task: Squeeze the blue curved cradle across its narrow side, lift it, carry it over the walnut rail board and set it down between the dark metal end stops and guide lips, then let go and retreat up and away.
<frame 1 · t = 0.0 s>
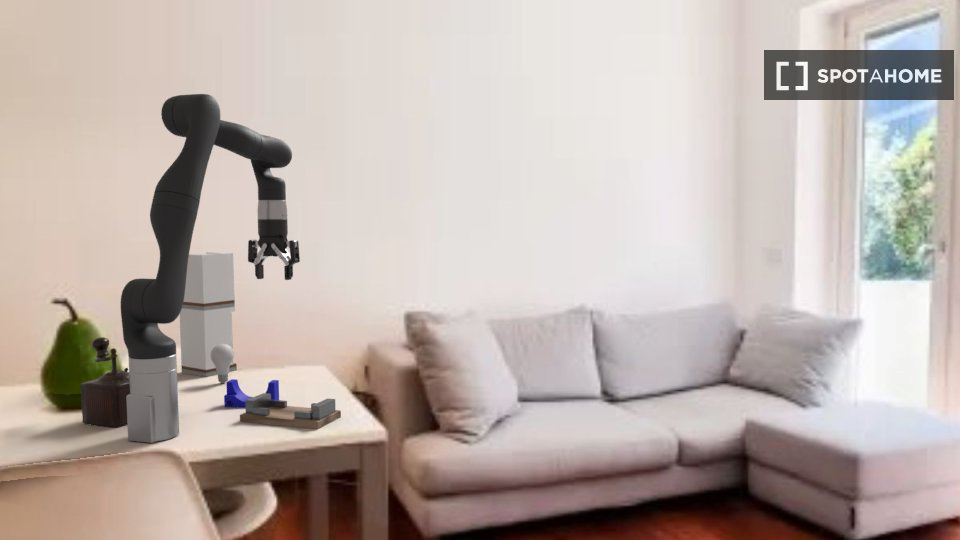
hand: (274, 279, 200), 29 cm above the table, fingers open, 8 cm apart
lightbulb: (223, 384, 209), on the table
clip rail: (290, 419, 172), on the table
manual coffee grinder: (110, 419, 173), on the table
blue curved cradle: (252, 406, 185), on the table
white square pillar: (209, 372, 224), on the table
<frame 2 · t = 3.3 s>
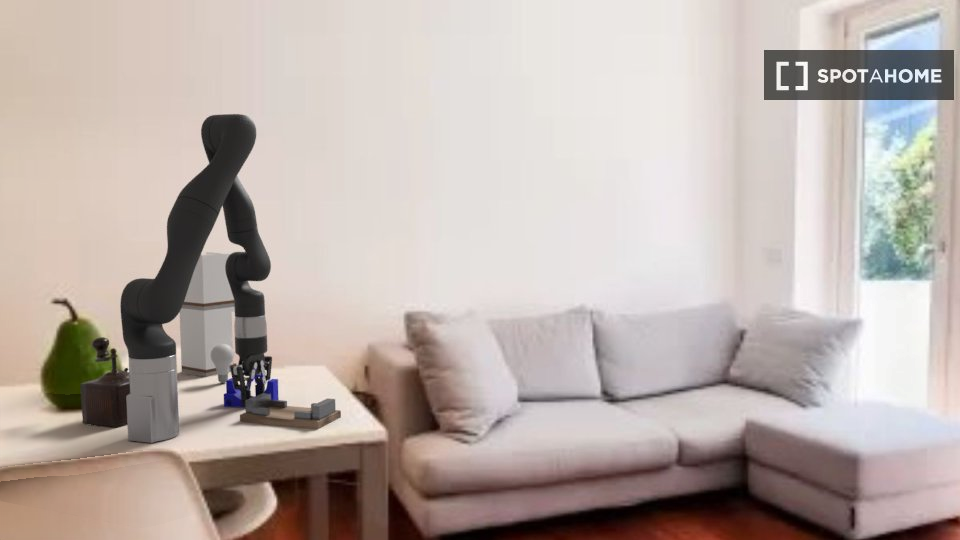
hand: (253, 402, 185), 1 cm above the table, fingers closed on blue curved cradle, 5 cm apart
blue curved cradle: (251, 405, 185), on the table, touching gripper
everything else where it was.
when the fingers open (3 cm above the table, at t = 10.4 s): blue curved cradle stays where it is, resting on clip rail.
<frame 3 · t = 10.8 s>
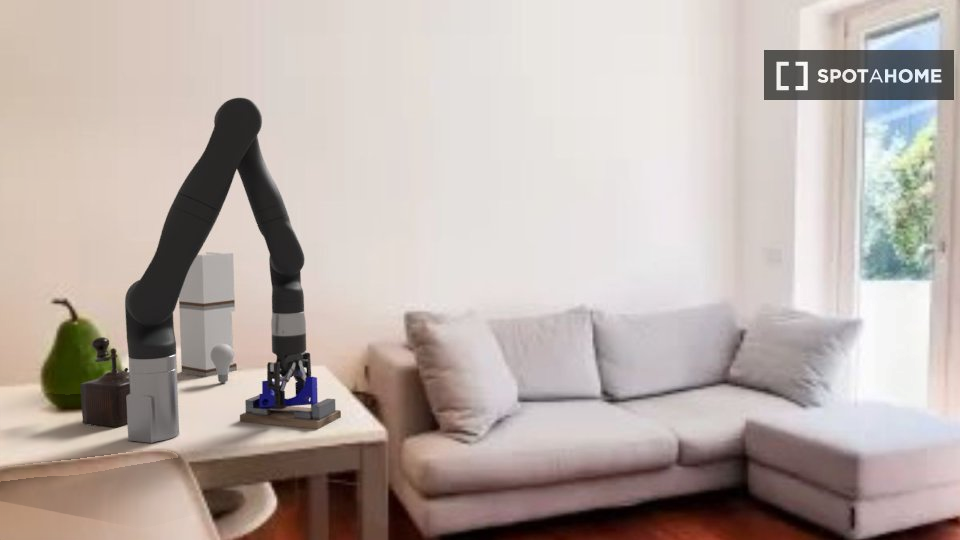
hand: (290, 402, 172), 4 cm above the table, fingers open, 8 cm apart
blue curved cradle: (288, 406, 172), point 3 cm above the table, touching clip rail, gripper
everything else where it was.
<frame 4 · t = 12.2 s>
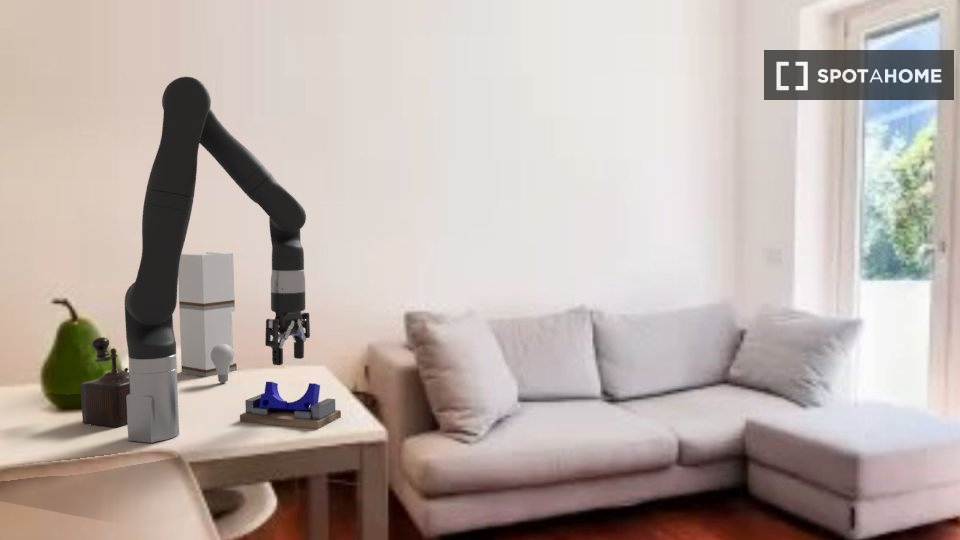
hand: (288, 361, 171), 13 cm above the table, fingers open, 8 cm apart
blue curved cradle: (288, 410, 172), point 2 cm above the table, touching clip rail
everything else where it was.
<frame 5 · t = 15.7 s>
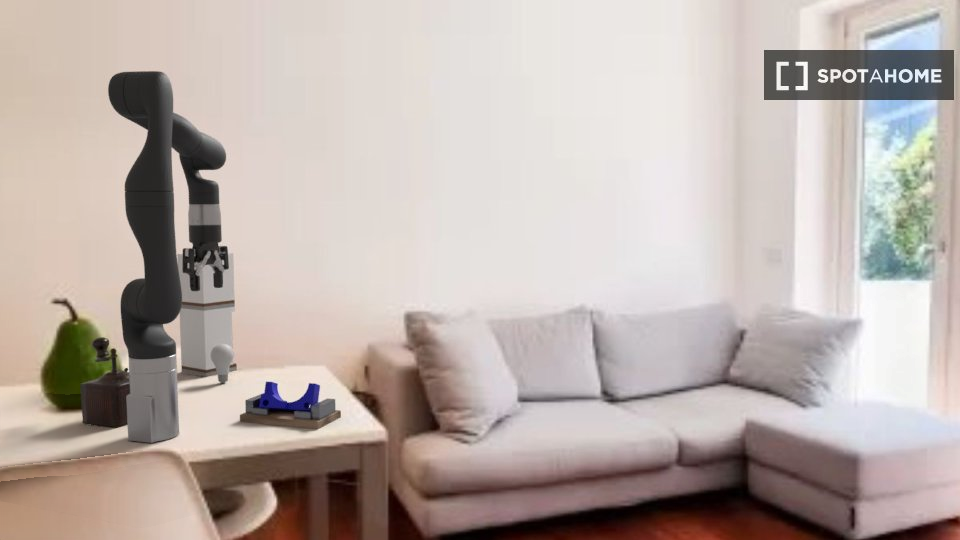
hand: (207, 289, 186), 28 cm above the table, fingers open, 8 cm apart
nothing on the table moved.
at the end: blue curved cradle 0.6 cm off-centre on the clip rail, point 2.1 cm above the clip rail's base; blue curved cradle tilted 21°; the gripper is holding nothing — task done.
